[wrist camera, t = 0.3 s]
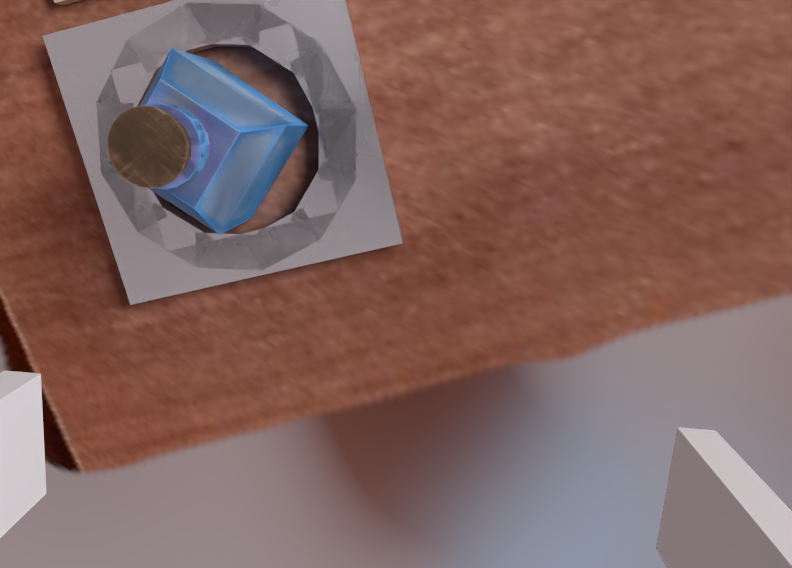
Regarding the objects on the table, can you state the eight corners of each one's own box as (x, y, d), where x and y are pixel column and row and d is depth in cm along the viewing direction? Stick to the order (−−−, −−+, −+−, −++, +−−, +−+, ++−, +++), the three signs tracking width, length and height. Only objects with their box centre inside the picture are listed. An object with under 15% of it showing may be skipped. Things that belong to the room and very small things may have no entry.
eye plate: (54, 38, 38) (42, 36, 36) (337, -38, 36) (335, -43, 35) (138, 299, 41) (130, 304, 39) (403, 239, 39) (402, 243, 38)
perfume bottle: (158, 156, 39) (41, 169, 27) (213, 60, 37) (115, 30, 26) (251, 218, 39) (177, 256, 28) (309, 125, 38) (255, 124, 26)
